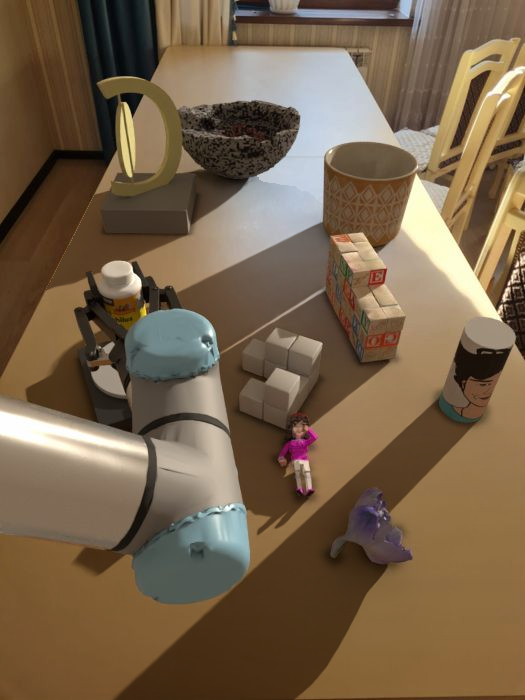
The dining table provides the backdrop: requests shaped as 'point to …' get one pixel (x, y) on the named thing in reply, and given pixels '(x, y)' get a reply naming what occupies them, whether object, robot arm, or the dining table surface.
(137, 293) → the supplement bottle
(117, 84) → the trophy
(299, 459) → the character figurine
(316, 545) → the dining table surface
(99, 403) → the kitchen scale
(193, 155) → the bowl
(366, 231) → the planter
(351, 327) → the stack of blocks
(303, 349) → the white cube cluster
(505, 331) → the illustrated cylindrical canister
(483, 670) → the dining table surface
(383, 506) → the flower
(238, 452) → the dining table surface
